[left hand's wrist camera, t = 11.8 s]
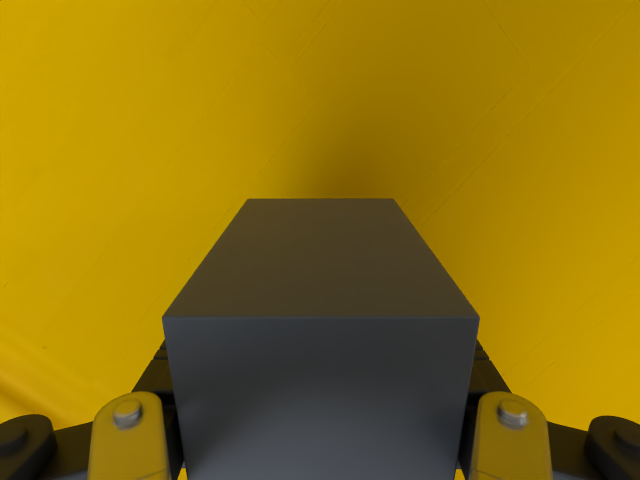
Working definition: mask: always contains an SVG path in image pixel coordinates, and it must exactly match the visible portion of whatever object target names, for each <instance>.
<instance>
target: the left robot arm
mask: <svg viewBox="0 0 640 480" xmlns="http://www.w3.org/2000/svg"><path fill="white" fill-rule="evenodd" d="M181 468H186V467H185V461H184V454H183V448H182V442H181V435H180V429H179V423H178V417H177V410H176V404H175V398H174V391H173V385H172V379H171V373H170V366H169V360H168V354H167V347H166V341H165V340H164V341H163V343H162V345H161V346H160V349H159V350H158V351H157V352H156V354H155V356H154V357H153V360H151V362H150V363H149V365H148V367H147V368H146V370H145V371H144V373H143V374H142V376H141V378H140V379H139V381H138V382H137V384H136V385H135V387H134V389H133V390H132V392H131V393H128V394H125V395H122V396H119V397H117V398H115V399H113V400H112V401H110V402H109V403H107V404H106V405H105V406H104V407H102V408H101V409H100V411H99V412H98V413H97V414H96V416H95V418H94V421H92V422H89V423H85V424H81V425H77V426H73V427H68V428H64V429H60V430H56V431H54V429H53V426H52V423H51V421H50V419H49V418H48V417H46V416H43V415H38V414H32V415H24V416H20V417H16V418H13V419H11V420H8V421H6V422H4V423H1V424H0V480H177V479H178V476H179V473H180V471H181ZM456 469H462V472H463V474H464V477H465V480H640V425H639V424H637V423H635V422H633V421H630V420H627V419H624V418H620V417H615V416H599V417H596V418H594V419H593V420H592V421H591V423H590V426H589V429H588V431H583V430H579V429H575V428H571V427H567V426H562V425H558V424H555V423H551V422H549V421H547V420H546V418H545V416H544V414H543V413H542V412H541V411H540V409H539V408H538V407H536V406H535V405H534V404H533V403H531V402H530V401H528V400H527V399H525V398H523V397H521V396H518V395H515V394H512V393H511V391H510V389H509V388H508V386H507V385H506V383H505V382H504V380H503V379H502V377H501V375H500V374H499V372H498V371H497V369H496V368H495V366H494V365H493V363H492V362H491V360H489V357H488V355H487V354H486V352H485V351H484V350H483V348H482V346H481V344H480V343H479V341H478V340H477V339H476V346H475V352H474V358H473V365H472V371H471V377H470V384H469V390H468V396H467V402H466V409H465V415H464V421H463V428H462V434H461V440H460V447H459V453H458V459H457V465H456Z"/></svg>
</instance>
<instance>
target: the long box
mask: <svg viewBox="0 0 640 480" xmlns="http://www.w3.org/2000/svg"><path fill="white" fill-rule="evenodd" d="M479 321H480V317H479V315H478V314H477V312H476V311H475V309H474V308H473V307H472V305H471V304H470V303H469V301H468V300H467V299H466V297H465V296H464V294H463V293H462V292H461V290H460V289H459V288H458V286H457V285H456V284H455V282H454V281H453V279H452V278H451V277H450V275H449V274H448V273H447V271H446V270H445V269H444V267H443V266H442V264H441V263H440V262H439V260H438V259H437V258H436V256H435V255H434V254H433V252H432V251H431V249H430V248H429V247H428V245H427V244H426V243H425V241H424V240H423V239H422V237H421V236H420V234H419V233H418V232H417V230H416V229H415V228H414V226H413V225H412V224H411V222H410V221H409V219H408V218H407V217H406V215H405V214H404V213H403V211H402V210H401V209H400V207H399V206H398V204H397V203H396V202H395V200H394V199H247V201H246V202H245V203H244V205H243V206H242V207H241V209H240V210H239V212H238V213H237V214H236V216H235V217H234V218H233V220H232V221H231V223H230V224H229V225H228V227H227V228H226V229H225V231H224V232H223V234H222V235H221V236H220V238H219V239H218V240H217V242H216V243H215V245H214V246H213V247H212V249H211V250H210V251H209V253H208V254H207V256H206V257H205V258H204V260H203V261H202V262H201V264H200V265H199V267H198V268H197V269H196V271H195V272H194V273H193V275H192V276H191V278H190V279H189V280H188V282H187V283H186V284H185V286H184V287H183V289H182V290H181V291H180V293H179V294H178V295H177V297H176V298H175V300H174V301H173V302H172V304H171V305H170V306H169V308H168V309H167V311H166V312H165V313H164V315H163V316H162V322H163V329H164V335H165V341H166V347H167V354H168V360H169V366H170V373H171V379H172V385H173V391H174V398H175V404H176V410H177V417H178V423H179V429H180V435H181V442H182V448H183V454H184V461H185V467H186V473H187V479H188V480H454V478H455V472H456V465H457V459H458V453H459V447H460V440H461V434H462V428H463V421H464V415H465V409H466V402H467V396H468V390H469V384H470V377H471V371H472V365H473V358H474V352H475V346H476V339H477V333H478V327H479Z"/></svg>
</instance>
